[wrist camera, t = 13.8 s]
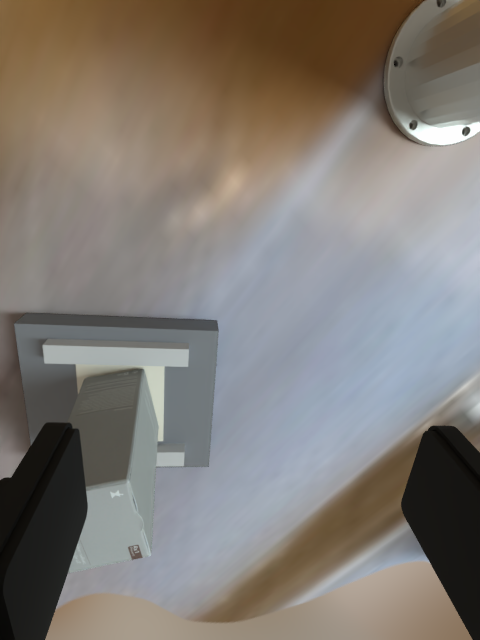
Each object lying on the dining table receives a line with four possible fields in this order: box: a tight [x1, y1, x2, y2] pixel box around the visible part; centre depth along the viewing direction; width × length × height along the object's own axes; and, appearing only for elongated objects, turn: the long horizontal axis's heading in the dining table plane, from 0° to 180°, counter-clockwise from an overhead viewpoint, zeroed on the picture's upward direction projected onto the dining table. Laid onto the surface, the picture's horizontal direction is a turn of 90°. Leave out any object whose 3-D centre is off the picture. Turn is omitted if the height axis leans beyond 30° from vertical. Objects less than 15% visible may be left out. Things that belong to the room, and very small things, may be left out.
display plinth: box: [14, 313, 219, 467], centre depth 42 cm, size 20×18×4 cm
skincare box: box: [67, 369, 159, 573], centre depth 34 cm, size 8×7×16 cm
